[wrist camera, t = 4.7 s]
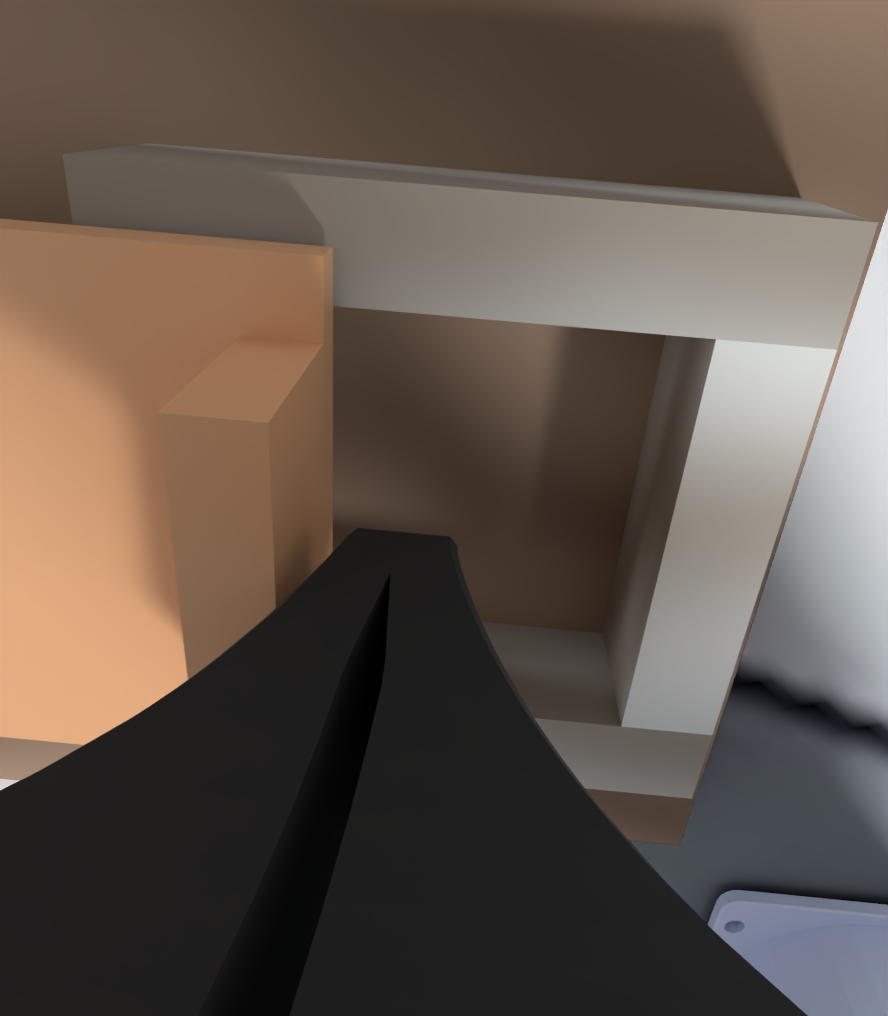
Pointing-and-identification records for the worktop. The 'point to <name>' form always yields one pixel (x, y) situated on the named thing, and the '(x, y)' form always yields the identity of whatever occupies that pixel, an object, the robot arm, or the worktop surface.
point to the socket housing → (518, 293)
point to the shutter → (152, 460)
